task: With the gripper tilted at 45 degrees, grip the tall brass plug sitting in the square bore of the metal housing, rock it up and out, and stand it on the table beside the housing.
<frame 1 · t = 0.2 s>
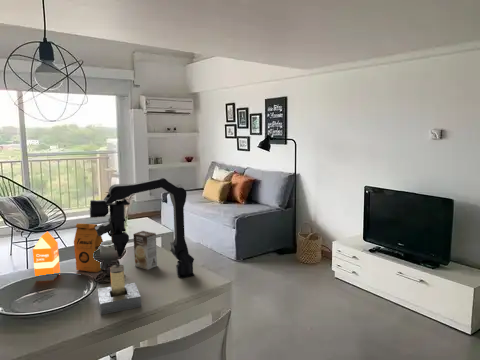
hand: (117, 253, 156), 14 cm above the table, tool pointing down, fingers open, 9 cm apart
brass plug: (118, 284, 142), in the bore housing
bore housing: (119, 302, 143), on the table
coffee box: (146, 266, 181), on the table
orange juice: (48, 278, 169), on the table
coffee package: (91, 270, 178), on the table
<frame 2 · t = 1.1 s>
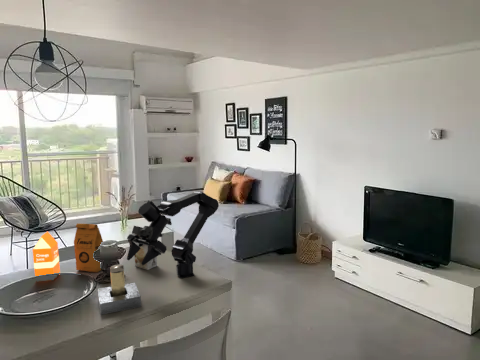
hand: (134, 262, 147), 13 cm above the table, tool tilted 45°, fingers open, 9 cm apart
nothing on the table moved.
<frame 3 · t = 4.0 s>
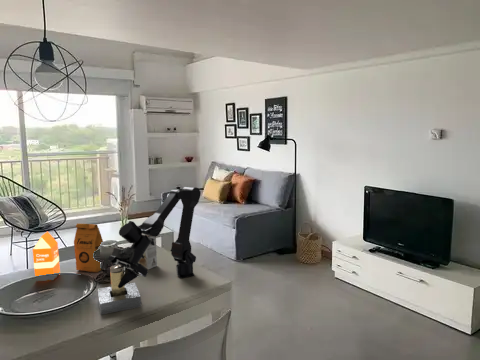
hand: (114, 285, 141), 7 cm above the table, tool tilted 45°, fingers closed on brass plug, 5 cm apart
brass plug: (118, 284, 142), in the bore housing, touching gripper
everything else where it was.
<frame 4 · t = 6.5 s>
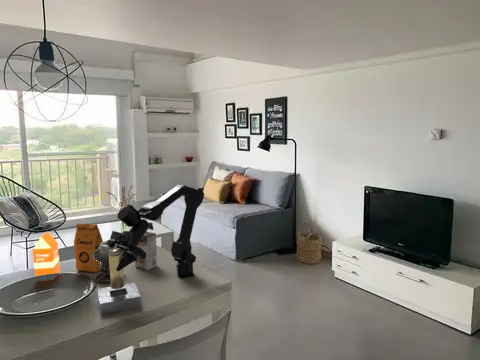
hand: (113, 269, 140), 13 cm above the table, tool tilted 45°, fingers closed on brass plug, 5 cm apart
brass plug: (116, 268, 141), point 13 cm above the table, touching gripper
everything else where it was.
when the fingers open (8 cm above the table, at t = 9.3 s): brass plug drops 1 cm, on the table.
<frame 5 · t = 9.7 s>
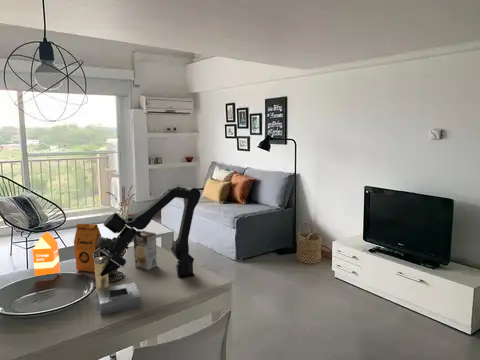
hand: (97, 272, 151), 9 cm above the table, tool tilted 45°, fingers open, 9 cm apart
brass plug: (101, 275, 152), on the table
everything else where it was.
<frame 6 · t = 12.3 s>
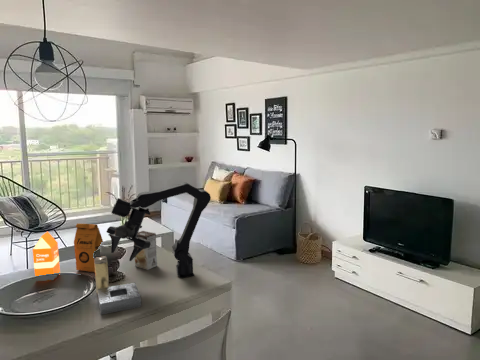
hand: (121, 256, 158), 12 cm above the table, tool tilted 25°, fingers open, 9 cm apart
nothing on the table moved.
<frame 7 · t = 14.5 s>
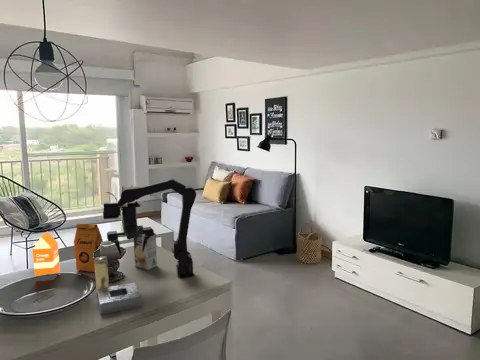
hand: (131, 253, 163), 12 cm above the table, tool pointing down, fingers open, 9 cm apart
nothing on the table moved.
at the end: brass plug inside the target area (0.1 cm from its centre), on the table; brass plug tilted 0°; the gripper is holding nothing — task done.
